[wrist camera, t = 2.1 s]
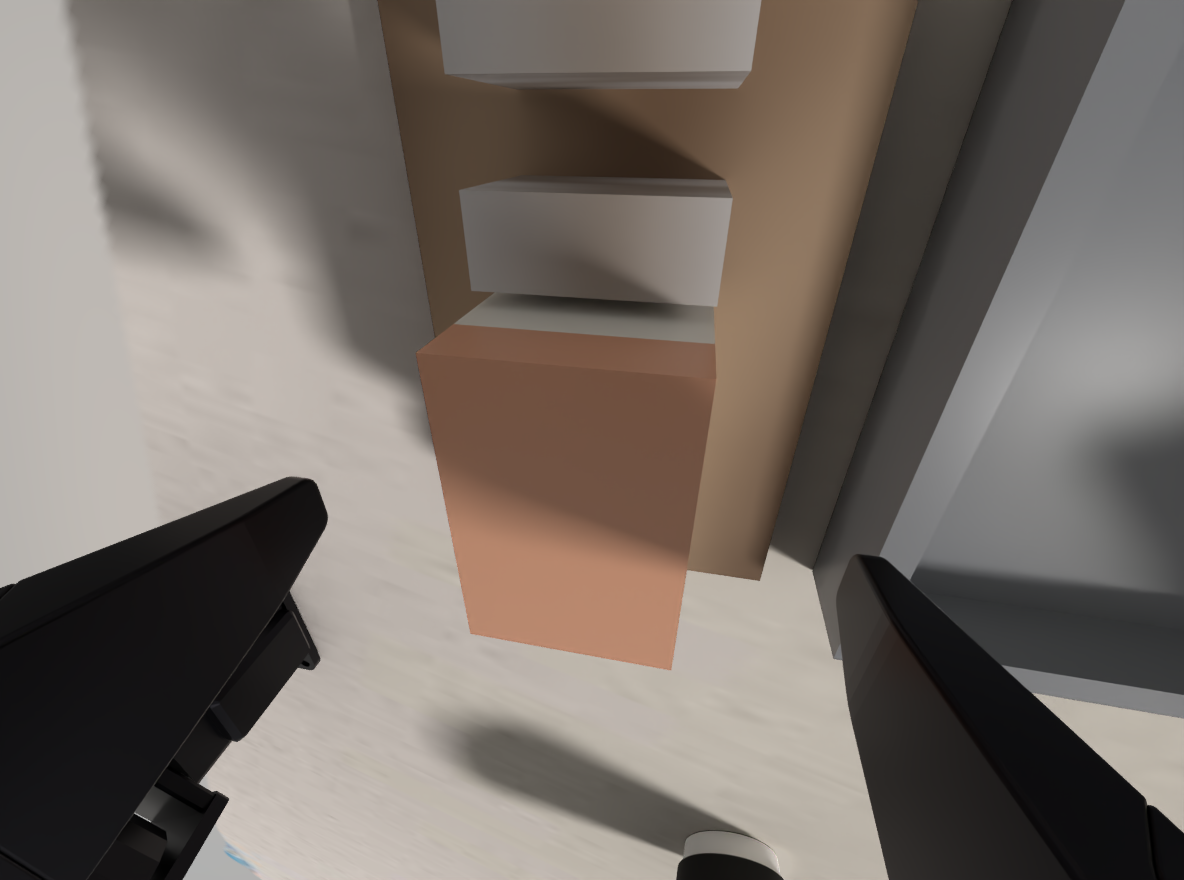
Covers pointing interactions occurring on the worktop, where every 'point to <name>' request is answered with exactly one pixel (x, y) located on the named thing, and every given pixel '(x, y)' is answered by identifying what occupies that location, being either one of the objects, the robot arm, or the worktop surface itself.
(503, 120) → the board
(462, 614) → the worktop surface
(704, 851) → the dixie cup
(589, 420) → the block
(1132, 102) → the tray
